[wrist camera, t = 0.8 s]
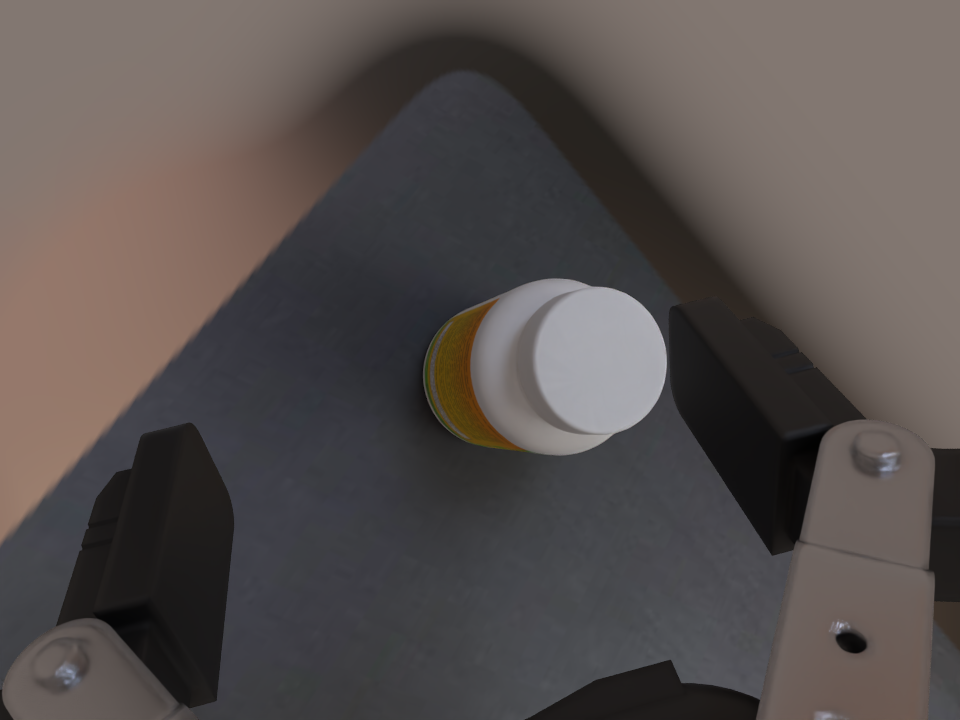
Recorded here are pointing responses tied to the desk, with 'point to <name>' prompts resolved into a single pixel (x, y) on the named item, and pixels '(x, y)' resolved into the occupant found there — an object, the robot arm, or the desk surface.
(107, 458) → the desk surface
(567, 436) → the supplement bottle
